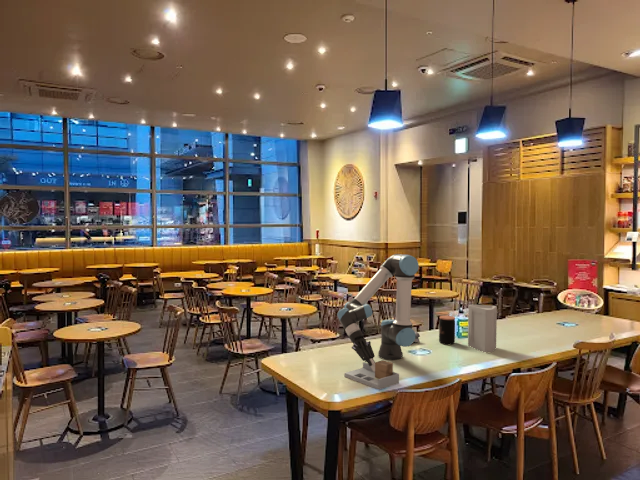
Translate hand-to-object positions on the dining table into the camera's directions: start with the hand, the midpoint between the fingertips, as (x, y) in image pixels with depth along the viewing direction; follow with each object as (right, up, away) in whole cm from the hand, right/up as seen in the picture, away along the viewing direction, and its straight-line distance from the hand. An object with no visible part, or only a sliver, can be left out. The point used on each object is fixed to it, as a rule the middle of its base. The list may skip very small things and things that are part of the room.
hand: (375, 370), depth 247 cm
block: (+4, -3, -3) cm, 6 cm away
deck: (-3, -5, 0) cm, 6 cm away
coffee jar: (+59, -3, +77) cm, 97 cm away
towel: (+30, -3, +83) cm, 88 cm away
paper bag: (+81, -3, +63) cm, 103 cm away
